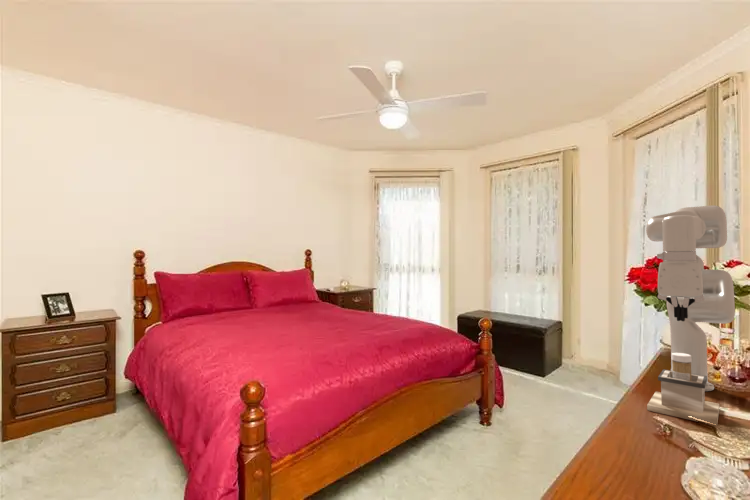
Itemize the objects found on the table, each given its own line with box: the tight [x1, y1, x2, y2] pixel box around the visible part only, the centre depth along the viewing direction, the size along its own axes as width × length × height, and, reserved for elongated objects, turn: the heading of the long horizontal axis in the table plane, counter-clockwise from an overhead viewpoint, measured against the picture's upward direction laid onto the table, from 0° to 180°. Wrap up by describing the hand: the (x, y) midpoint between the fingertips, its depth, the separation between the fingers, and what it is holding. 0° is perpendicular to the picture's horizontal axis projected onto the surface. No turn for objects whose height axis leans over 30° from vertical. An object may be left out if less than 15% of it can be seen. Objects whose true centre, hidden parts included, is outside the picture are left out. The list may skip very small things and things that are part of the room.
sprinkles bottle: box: [670, 353, 692, 381], centre depth 110 cm, size 5×5×14 cm
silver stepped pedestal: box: [646, 369, 720, 426], centre depth 110 cm, size 15×15×10 cm
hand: (681, 320), depth 110 cm, fingers closed
